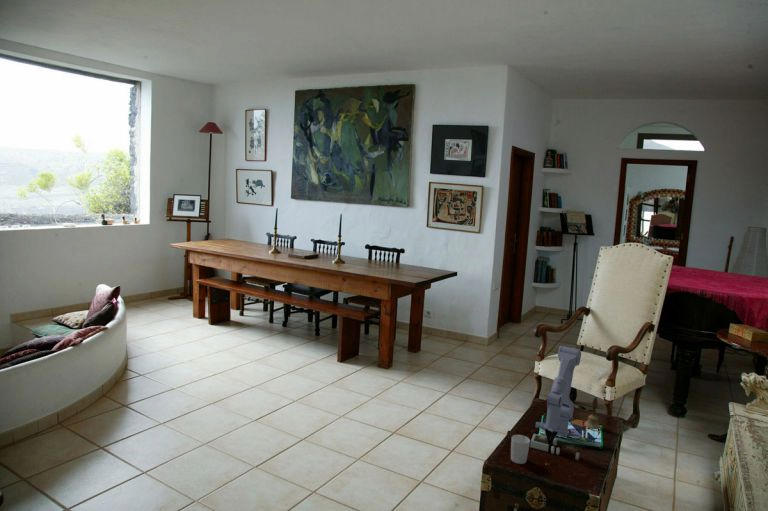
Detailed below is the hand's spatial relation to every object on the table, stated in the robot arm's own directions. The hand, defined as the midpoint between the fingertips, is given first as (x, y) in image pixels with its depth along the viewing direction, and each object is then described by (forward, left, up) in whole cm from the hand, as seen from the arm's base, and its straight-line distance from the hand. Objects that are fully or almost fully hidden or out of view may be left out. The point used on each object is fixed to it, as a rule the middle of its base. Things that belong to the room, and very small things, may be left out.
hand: (549, 445), depth 245 cm
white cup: (+19, -11, -2) cm, 22 cm away
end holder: (0, -4, -1) cm, 4 cm away
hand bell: (-35, +16, -2) cm, 39 cm away
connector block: (0, -3, -1) cm, 4 cm away
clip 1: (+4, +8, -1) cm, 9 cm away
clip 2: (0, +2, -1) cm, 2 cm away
